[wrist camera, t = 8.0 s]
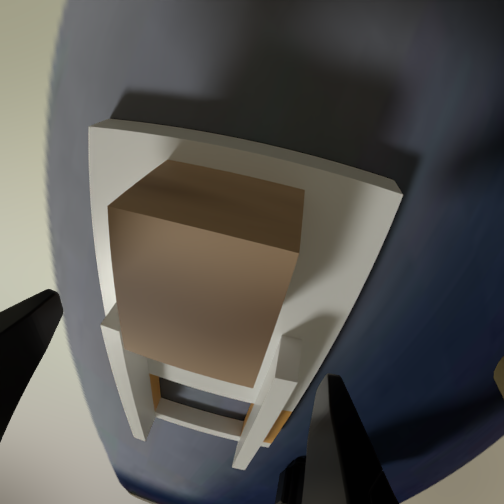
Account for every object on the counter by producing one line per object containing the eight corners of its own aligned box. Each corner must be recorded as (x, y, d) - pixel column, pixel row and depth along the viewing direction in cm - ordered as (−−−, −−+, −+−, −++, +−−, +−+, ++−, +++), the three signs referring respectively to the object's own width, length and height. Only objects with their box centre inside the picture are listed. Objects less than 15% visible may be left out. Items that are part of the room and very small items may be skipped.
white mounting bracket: (270, 432, 24) (263, 473, 20) (134, 393, 24) (117, 430, 21) (393, 180, 11) (423, 229, 8) (109, 118, 12) (46, 144, 9)
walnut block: (268, 314, 14) (253, 388, 11) (162, 285, 14) (124, 349, 11) (304, 189, 11) (299, 253, 7) (167, 159, 11) (107, 206, 8)
